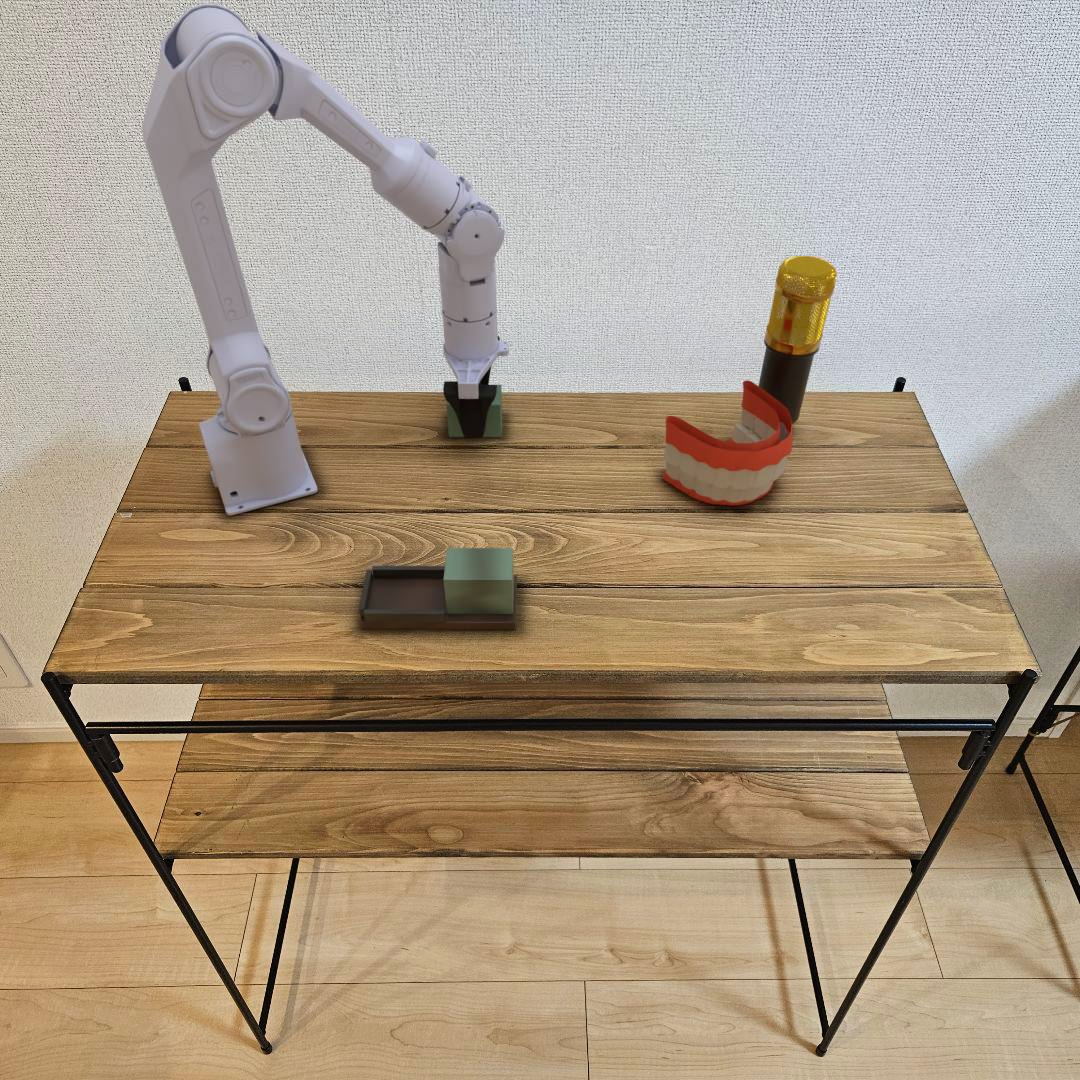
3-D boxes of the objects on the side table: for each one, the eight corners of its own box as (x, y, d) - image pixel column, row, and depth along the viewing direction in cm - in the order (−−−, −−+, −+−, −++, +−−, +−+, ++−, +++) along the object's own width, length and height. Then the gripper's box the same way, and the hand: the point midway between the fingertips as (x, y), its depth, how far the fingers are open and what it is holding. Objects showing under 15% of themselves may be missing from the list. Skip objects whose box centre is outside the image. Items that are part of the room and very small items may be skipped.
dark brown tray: (361, 629, 80) (352, 587, 76) (370, 581, 85) (362, 540, 81) (515, 629, 80) (514, 587, 76) (517, 582, 85) (516, 540, 81)
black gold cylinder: (867, 438, 101) (919, 275, 88) (754, 443, 101) (788, 280, 87) (850, 409, 106) (897, 249, 92) (742, 414, 105) (772, 253, 91)
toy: (723, 532, 90) (735, 470, 84) (655, 479, 96) (662, 418, 90) (807, 485, 95) (823, 424, 90) (737, 438, 101) (749, 378, 96)
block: (448, 437, 101) (446, 404, 98) (451, 416, 104) (448, 384, 101) (501, 437, 101) (500, 404, 98) (502, 417, 104) (501, 384, 101)
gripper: (505, 345, 87) (508, 455, 96) (509, 276, 98) (511, 381, 107) (434, 345, 87) (444, 455, 96) (445, 276, 98) (453, 380, 107)
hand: (475, 416), depth 102 cm, fingers open, 7 cm apart
